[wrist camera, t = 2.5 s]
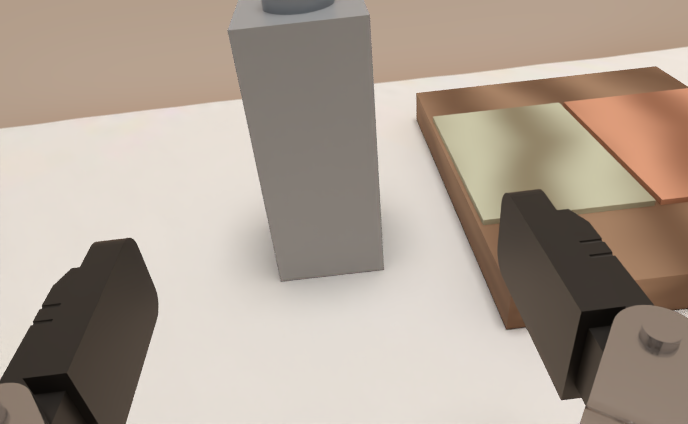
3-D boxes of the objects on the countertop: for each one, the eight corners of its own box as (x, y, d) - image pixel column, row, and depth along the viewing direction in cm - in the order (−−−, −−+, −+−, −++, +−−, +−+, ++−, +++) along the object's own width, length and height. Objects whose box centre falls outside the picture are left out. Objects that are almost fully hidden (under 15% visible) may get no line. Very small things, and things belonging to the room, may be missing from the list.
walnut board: (506, 329, 22) (511, 289, 20) (416, 119, 38) (416, 89, 37) (909, 282, 22) (941, 239, 21) (648, 93, 38) (657, 62, 37)
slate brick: (280, 281, 25) (218, -12, 18) (283, 220, 29) (233, -41, 22) (383, 269, 25) (367, -29, 18) (371, 210, 30) (353, -54, 22)
